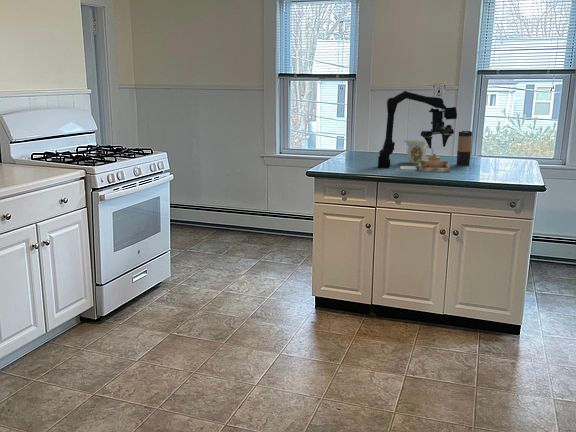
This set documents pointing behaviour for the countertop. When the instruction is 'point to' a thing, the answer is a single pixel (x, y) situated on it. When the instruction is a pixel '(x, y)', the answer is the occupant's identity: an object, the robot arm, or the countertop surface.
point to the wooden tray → (442, 168)
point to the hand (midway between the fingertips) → (437, 147)
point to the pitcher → (417, 151)
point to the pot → (434, 161)
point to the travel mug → (464, 148)
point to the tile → (408, 168)
